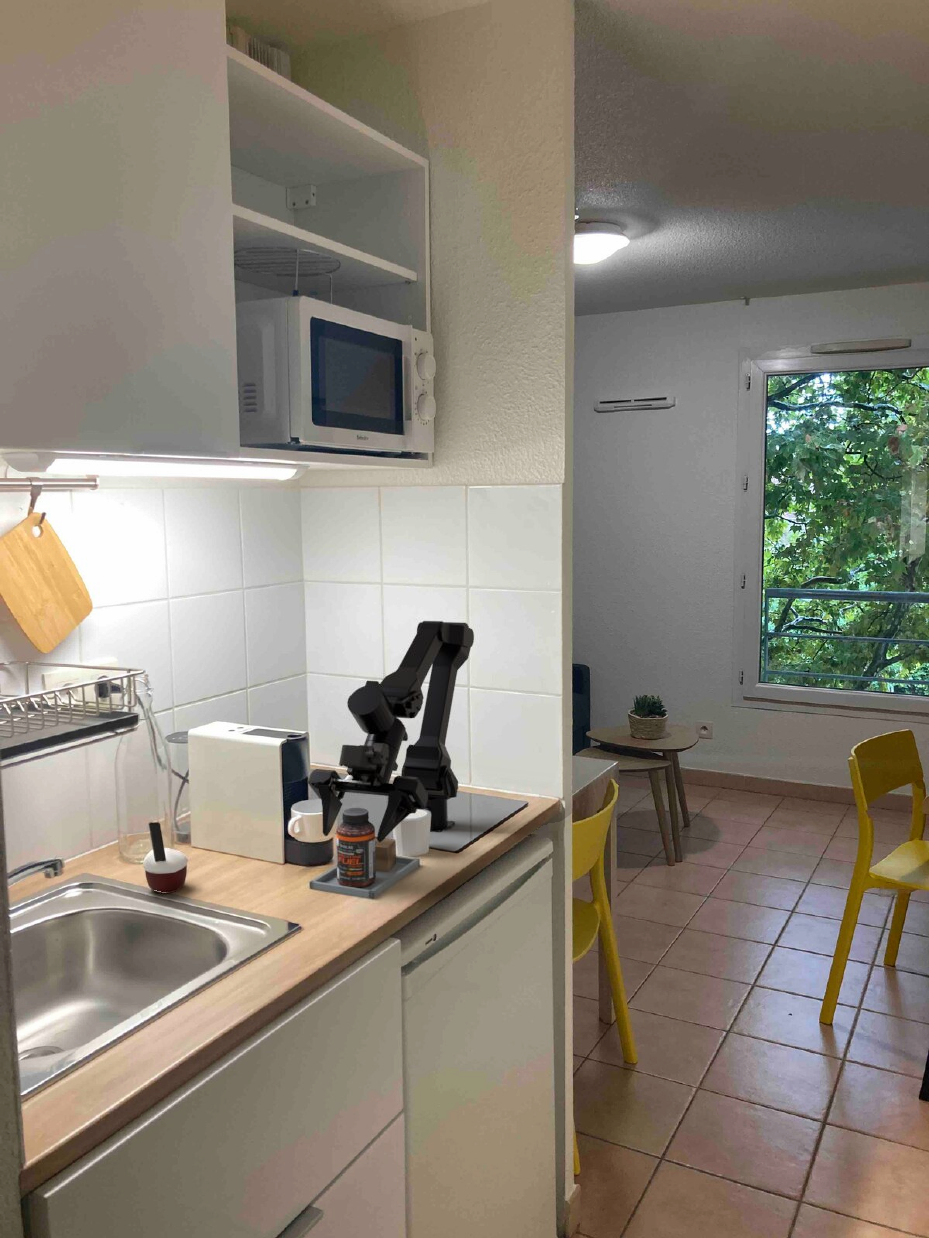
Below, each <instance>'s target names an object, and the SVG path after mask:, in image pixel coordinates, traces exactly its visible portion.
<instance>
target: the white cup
mask: <svg viewBox="0 0 929 1238" xmlns="http://www.w3.org/2000/svg"><path fill="white" fill-rule="evenodd" d="M430 825H431V812H430V811H428V810H425V809H423V810H421V809H417V811H416V813H411V814H409V815H408V816H407V817H406V818H405V819H404V820H402V821H401V822H400V823H399V824H398V825H397V826H396V827H395V828H394V829H393V830H392V835H393V837H392V839H395V840H396V855H397V856H402V857H417V856H423V855H425V854H427V853H428V852H429V851H430V838H431V837H430V836H431V831H430Z"/></svg>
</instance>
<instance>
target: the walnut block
mask: <svg viewBox="0 0 929 1238" xmlns="http://www.w3.org/2000/svg"><path fill="white" fill-rule="evenodd" d="M396 856H397V853H396V840H395V839H394V838H385V839H384V840H383V841H382V842H379V841H378V840H377V837H375V862H376V871H379V872H389V871H390V870H391V869H392V868H393V866H394V865H395V864H396Z"/></svg>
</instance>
